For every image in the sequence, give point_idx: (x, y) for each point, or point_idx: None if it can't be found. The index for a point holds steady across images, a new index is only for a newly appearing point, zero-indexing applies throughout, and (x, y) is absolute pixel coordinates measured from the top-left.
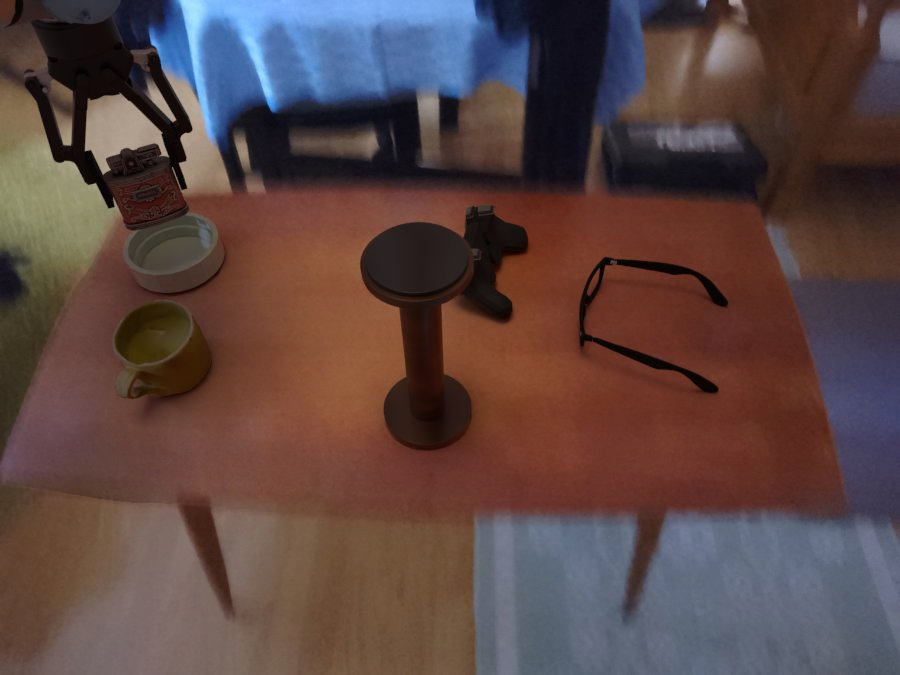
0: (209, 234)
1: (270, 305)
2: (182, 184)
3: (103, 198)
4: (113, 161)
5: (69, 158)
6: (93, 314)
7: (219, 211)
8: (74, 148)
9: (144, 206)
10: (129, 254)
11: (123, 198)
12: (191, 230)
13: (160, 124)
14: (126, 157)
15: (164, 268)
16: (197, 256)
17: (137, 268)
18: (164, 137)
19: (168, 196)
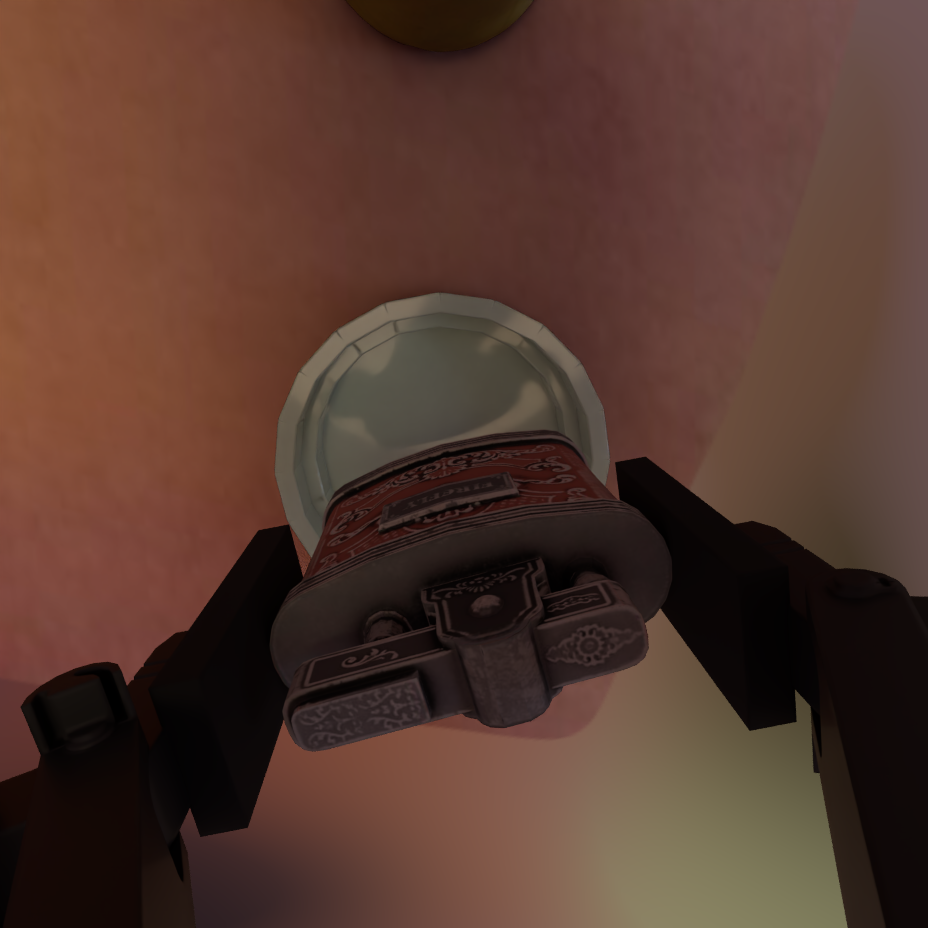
0: None
1: (130, 161)
2: (266, 538)
3: (667, 473)
4: (595, 610)
5: (923, 608)
6: (702, 273)
7: None
8: (917, 643)
9: (481, 473)
10: (587, 444)
11: (568, 481)
12: None
13: (83, 835)
14: (503, 628)
15: (486, 417)
16: (382, 451)
17: (557, 350)
18: (214, 779)
19: (365, 513)
